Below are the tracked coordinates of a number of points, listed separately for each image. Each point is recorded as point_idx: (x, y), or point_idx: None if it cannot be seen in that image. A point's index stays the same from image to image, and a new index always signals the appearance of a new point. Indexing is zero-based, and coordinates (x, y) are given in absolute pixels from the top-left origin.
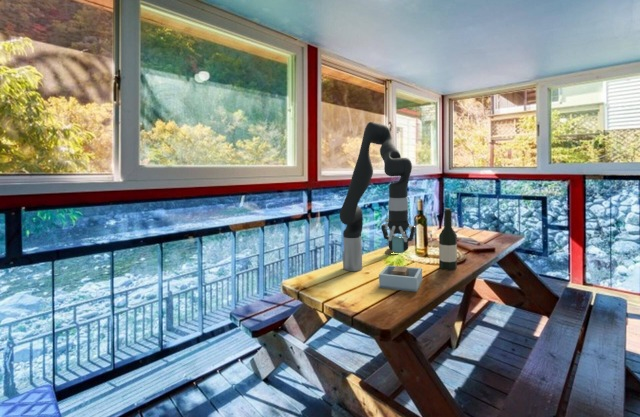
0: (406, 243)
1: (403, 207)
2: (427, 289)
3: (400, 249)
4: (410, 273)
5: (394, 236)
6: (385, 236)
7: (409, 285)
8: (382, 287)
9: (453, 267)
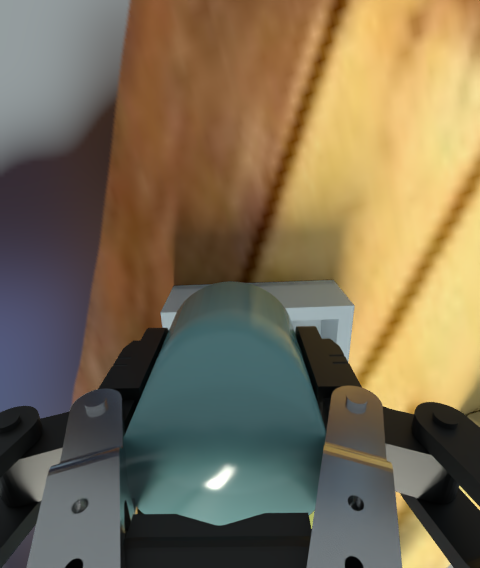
0: (112, 388)
1: None
2: (143, 325)
3: (190, 307)
4: None
5: (298, 489)
6: (457, 438)
7: None
8: (320, 281)
9: None
